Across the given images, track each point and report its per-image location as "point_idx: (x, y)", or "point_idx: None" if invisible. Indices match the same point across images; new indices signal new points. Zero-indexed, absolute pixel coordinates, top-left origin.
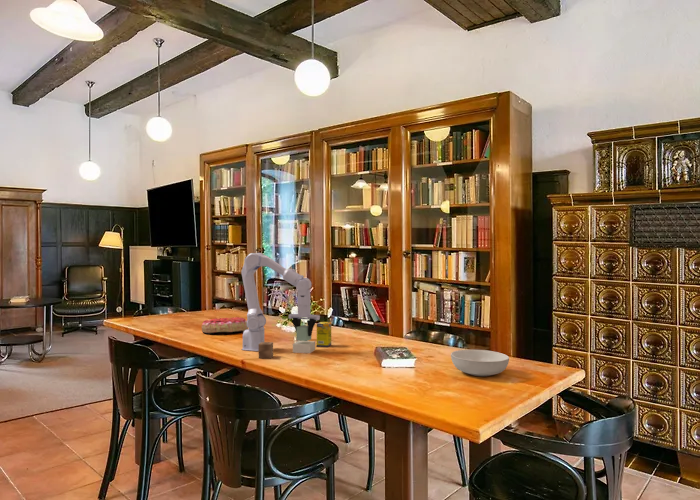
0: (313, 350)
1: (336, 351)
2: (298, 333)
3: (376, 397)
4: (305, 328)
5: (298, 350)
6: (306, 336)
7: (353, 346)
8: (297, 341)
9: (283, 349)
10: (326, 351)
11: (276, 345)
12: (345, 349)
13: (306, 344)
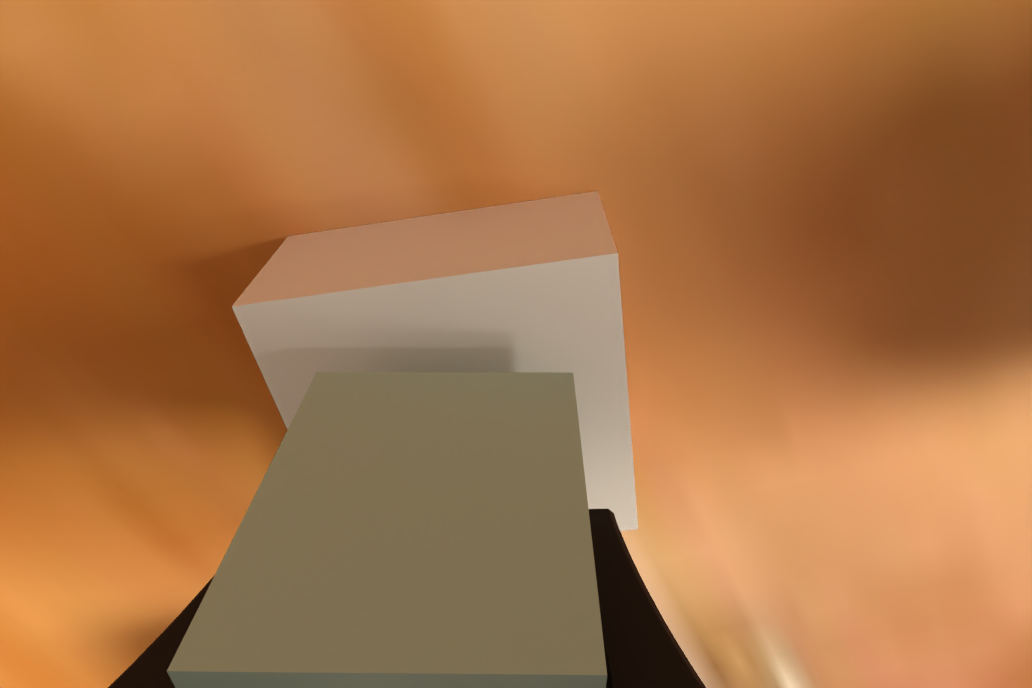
0: None
1: (44, 457)
2: (522, 491)
3: None
4: (228, 638)
5: (489, 219)
6: (285, 442)
7: (95, 684)
8: (631, 488)
9: (835, 342)
10: (158, 419)
11: (1001, 519)
12: (46, 568)
13: (320, 312)
